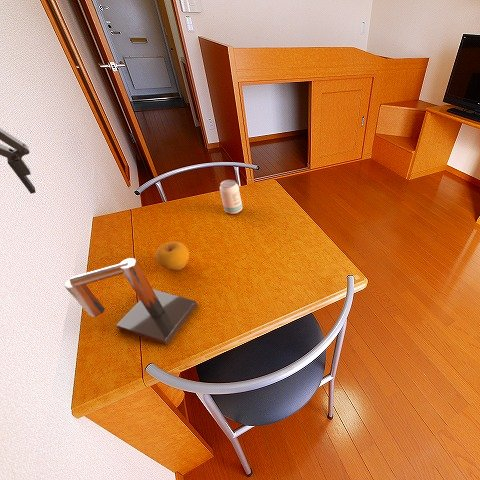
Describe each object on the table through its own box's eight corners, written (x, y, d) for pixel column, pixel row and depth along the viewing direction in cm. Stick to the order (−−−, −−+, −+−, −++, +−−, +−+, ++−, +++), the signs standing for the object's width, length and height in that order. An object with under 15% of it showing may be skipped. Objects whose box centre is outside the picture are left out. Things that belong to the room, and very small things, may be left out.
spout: (163, 304, 72) (135, 255, 60) (164, 314, 70) (136, 265, 58) (104, 325, 67) (61, 275, 55) (104, 336, 65) (59, 287, 53)
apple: (155, 274, 82) (143, 252, 76) (174, 254, 89) (164, 233, 83) (182, 280, 81) (172, 258, 75) (199, 259, 88) (191, 238, 82)
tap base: (197, 305, 75) (195, 300, 73) (167, 345, 66) (164, 340, 64) (153, 293, 77) (151, 288, 76) (119, 329, 68) (115, 325, 67)
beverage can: (229, 204, 112) (223, 177, 104) (245, 206, 111) (241, 180, 103) (221, 214, 107) (215, 186, 99) (238, 216, 106) (232, 189, 98)
